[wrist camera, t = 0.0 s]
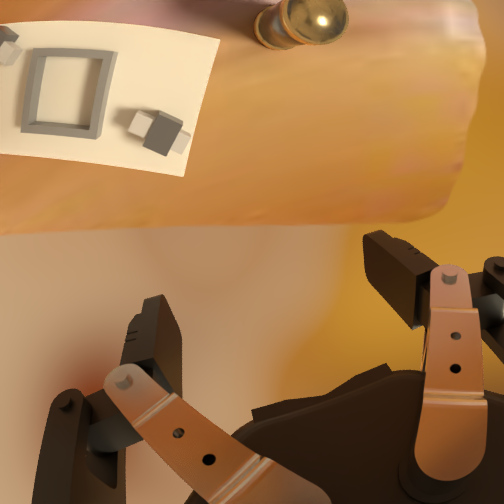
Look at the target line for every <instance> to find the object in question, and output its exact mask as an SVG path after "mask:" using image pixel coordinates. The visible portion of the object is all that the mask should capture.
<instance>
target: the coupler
mask: <svg viewBox="0 0 504 504" xmlns="http://www.w3.org/2000/svg"><path fill="white" fill-rule="evenodd" d="M348 21H349V16H348V11H347V8H346V6H345V4H344V2H343V0H282V1H280V2H279V3H277V4H276V5H273V6H270V7H267V8H266V9H264V10H263V11H261V12H260V13H259V14H258V15H257V17H256V19H255V21H254V26H253V27H254V33H255V36H256V38H257V39H258V41H259V42H260V43H261V44H262V45H264V46H265V47H267V48H269V49H273V50H286V49H291V48H293V47H295V46H298V45H305V44H307V45H323V44H329V43H332V42H334V41H336V40H338V39H339V38H340V37H342V35H343V34H344V33H345V31H346V29H347V26H348Z"/></svg>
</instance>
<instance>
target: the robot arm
mask: <svg viewBox="0 0 504 504" xmlns="http://www.w3.org/2000/svg"><path fill="white" fill-rule="evenodd" d="M363 253H364V266H365V273H366V276H367V279H368V281H369V282H370V284H371V285H372V286H373V287H374V288H375V289H376V290H377V291H378V292H379V294H380V295H381V296H382V297H383V298H384V299H385V300H386V301H387V302H388V303H389V305H391V307H392V308H393V309H394V310H395V311H396V312H397V314H398V315H399V316H400V317H401V318H402V319H403V320H404V321H405V323H406V324H407V325H408V326H409V327H410V328H411V329H412V330H414V329H416V328H418V327H420V326H422V325H423V326H424V327H425V332H424V343H423V352H422V361H421V369H420V371H416V370H398V371H391V369H390V368H389V366H388V365H387V363H385V364H382V365H380V366H378V367H375V368H373V369H370V370H368V371H366V372H363V373H361V374H358V375H356V376H354V377H353V378H351V379H350V380H348V381H347V382H345V383H343V384H342V385H340V386H339V387H337V388H336V389H334V390H332V391H331V392H329V393H327V394H326V395H322V396H316V397H307V398H300V399H290V400H284V401H281V402H277V403H274V404H271V405H267V406H263V407H260V408H256V409H252V410H251V411H252V416H253V420H252V421H250V422H248V423H246V424H245V425H244V426H242V427H240V428H239V429H238V430H236V431H235V432H234V433H233V434H232V435H231V436H230V435H228V434H227V433H226V432H224V431H223V430H222V429H220V428H219V427H218V426H216V425H215V424H213V423H212V422H211V421H210V420H208V419H207V418H206V417H204V416H203V415H202V414H200V413H199V412H198V411H197V410H195V409H194V408H193V407H192V406H190V405H189V404H188V403H187V402H185V401H184V400H183V399H182V336H181V332H180V329H179V326H178V324H177V322H176V320H175V317H174V315H173V313H172V311H171V309H170V307H169V304H168V302H167V300H166V298H165V296H164V295H163V294H161V295H158V296H155V297H151V298H147V299H145V300H144V303H143V307H142V312H141V314H137V315H135V316H134V318H133V319H132V321H131V322H130V323H129V326H128V330H127V335H126V339H125V342H126V343H124V348H123V352H122V357H121V362H120V366H119V367H117V368H115V369H114V370H112V371H111V372H110V373H109V374H108V376H107V377H106V379H105V381H104V389H102V390H100V391H97V392H95V393H93V394H91V395H88V396H86V397H85V396H84V395H83V394H82V393H81V391H79V390H77V389H68V390H65V391H63V392H61V393H60V394H59V395H58V396H57V397H56V398H55V399H54V400H53V402H52V404H51V407H50V411H49V414H48V418H47V423H46V427H45V431H44V435H43V440H42V445H41V449H40V454H39V460H38V466H37V471H36V476H35V483H34V489H33V497H32V504H126V487H125V486H126V484H125V482H126V480H125V462H126V461H125V460H126V459H125V458H126V457H125V456H126V447H128V446H130V445H132V444H135V443H137V442H139V441H141V440H145V441H146V442H147V443H148V444H149V445H150V446H151V448H152V449H153V450H154V451H155V452H156V453H157V454H158V455H159V456H160V457H161V458H162V459H163V460H164V461H165V462H166V463H167V464H168V465H169V466H170V467H171V468H172V469H173V470H174V471H175V472H176V473H177V474H178V475H179V476H180V477H181V478H182V479H183V480H184V481H185V482H186V483H187V484H188V485H189V486H190V487H191V488H192V489H193V492H192V493H191V494H190V496H189V497H188V499H187V500H186V502H185V503H184V504H504V395H502V394H498V393H494V392H491V391H487V390H484V380H483V355H482V342H481V338H482V340H483V341H484V342H485V343H486V344H487V345H488V346H489V348H490V349H492V351H493V352H494V353H495V354H496V355H497V357H498V358H499V359H500V360H501V361H502V362H503V364H504V257H491V258H488V259H487V260H486V261H485V263H484V268H483V272H478V273H472V274H467V273H466V271H465V270H464V269H462V268H460V267H458V266H455V265H441V266H439V265H438V264H437V263H435V262H434V261H433V260H431V259H430V258H429V257H427V256H426V255H425V254H423V253H420V251H419V250H418V249H416V248H414V246H412V245H411V244H410V243H408V242H406V241H404V240H401V239H398V238H392V237H391V236H390V235H388V234H387V233H385V232H384V231H382V230H378V231H374V232H371V233H368V234H365V235H364V236H363ZM86 450H87V451H86Z"/></svg>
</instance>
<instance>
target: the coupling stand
mask: <svg viewBox="0 0 504 504" xmlns="http://www.w3.org/2000/svg"><path fill="white" fill-rule="evenodd" d="M219 43H220V40H219V39H215V38H211V37H206V36H202V35H197V34H192V33H187V32H181V31H176V30H170V29H163V28H157V27H149V26H141V25H133V24H123V23H111V22H95V21H36V22H21V23H10V24H0V154H13V155H24V156H35V157H45V158H55V159H64V160H72V161H81V162H89V163H96V164H104V165H111V166H118V167H125V168H132V169H139V170H145V171H151V172H158V173H164V174H170V175H176V176H182V177H184V172H185V168H186V163H187V159H188V155H189V151H190V147H191V142H192V138H193V134H194V130H195V127H196V123H197V119H198V115H199V111H200V108H201V104H202V100H203V97H204V93H205V89H206V86H207V82H208V79H209V75H210V72H211V69H212V65H213V62H214V59H215V56H216V52H217V49H218V46H219Z"/></svg>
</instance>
